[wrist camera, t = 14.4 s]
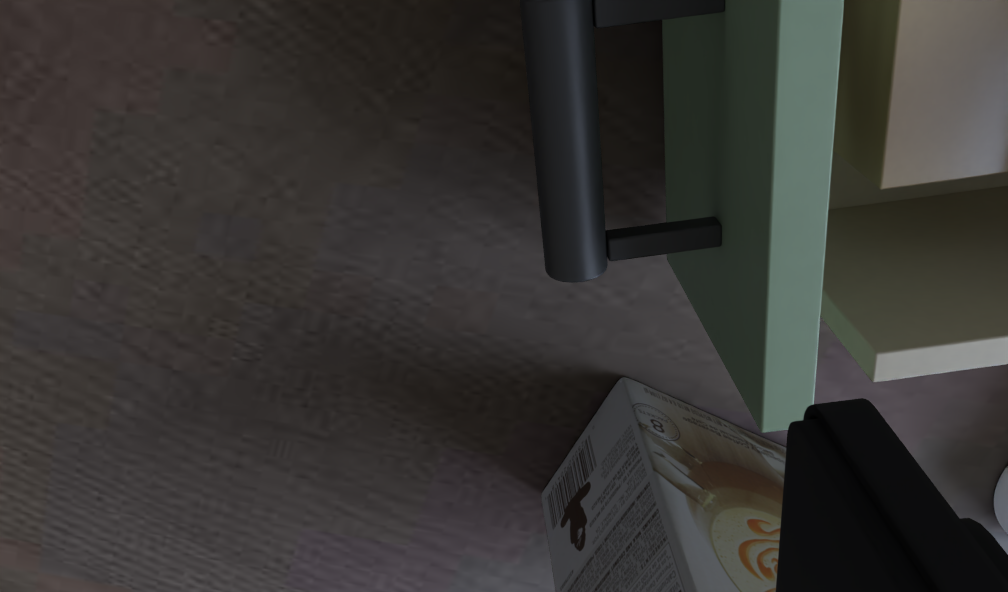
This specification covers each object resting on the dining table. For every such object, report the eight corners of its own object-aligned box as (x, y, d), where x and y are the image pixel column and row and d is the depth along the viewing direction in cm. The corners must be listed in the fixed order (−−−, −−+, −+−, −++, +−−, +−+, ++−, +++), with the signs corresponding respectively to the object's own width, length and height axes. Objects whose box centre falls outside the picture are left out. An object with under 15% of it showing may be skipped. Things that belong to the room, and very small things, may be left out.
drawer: (532, 278, 28) (575, 459, 20) (485, -174, 22) (520, -165, 14) (1121, 199, 28) (1387, 348, 20) (1237, -268, 22) (1680, -309, 14)
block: (817, -37, 23) (900, -6, 19) (990, -60, 23) (1107, -32, 19) (807, 130, 25) (879, 190, 21) (964, 110, 25) (1066, 166, 21)
